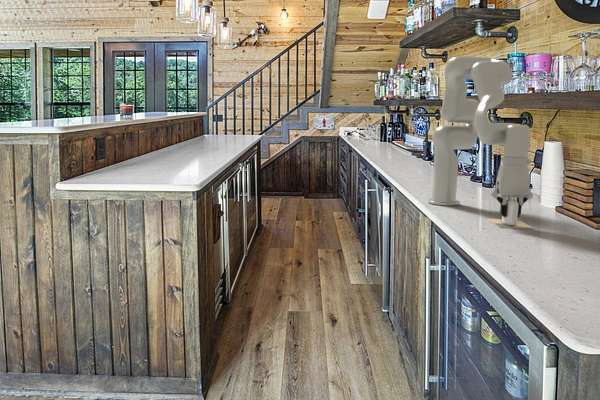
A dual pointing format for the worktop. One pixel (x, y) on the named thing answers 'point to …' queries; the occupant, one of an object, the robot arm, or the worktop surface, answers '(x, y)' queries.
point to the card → (519, 225)
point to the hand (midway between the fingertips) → (510, 215)
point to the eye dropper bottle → (511, 211)
